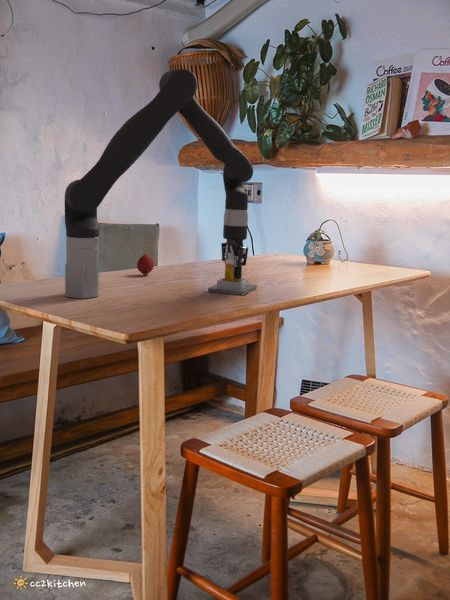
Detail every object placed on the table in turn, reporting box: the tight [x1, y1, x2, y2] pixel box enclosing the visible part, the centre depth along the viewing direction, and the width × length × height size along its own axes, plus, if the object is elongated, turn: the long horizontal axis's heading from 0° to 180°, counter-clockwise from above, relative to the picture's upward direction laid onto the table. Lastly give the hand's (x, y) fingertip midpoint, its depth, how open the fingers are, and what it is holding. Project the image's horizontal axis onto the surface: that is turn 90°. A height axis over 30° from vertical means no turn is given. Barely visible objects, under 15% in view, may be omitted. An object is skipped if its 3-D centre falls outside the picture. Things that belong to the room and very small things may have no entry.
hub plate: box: [207, 276, 258, 296], centre depth 218 cm, size 14×12×3 cm
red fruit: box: [136, 252, 155, 276], centre depth 240 cm, size 6×6×8 cm
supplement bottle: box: [224, 253, 243, 282], centre depth 217 cm, size 5×5×10 cm
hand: (232, 276), depth 218 cm, fingers closed on supplement bottle, 5 cm apart
